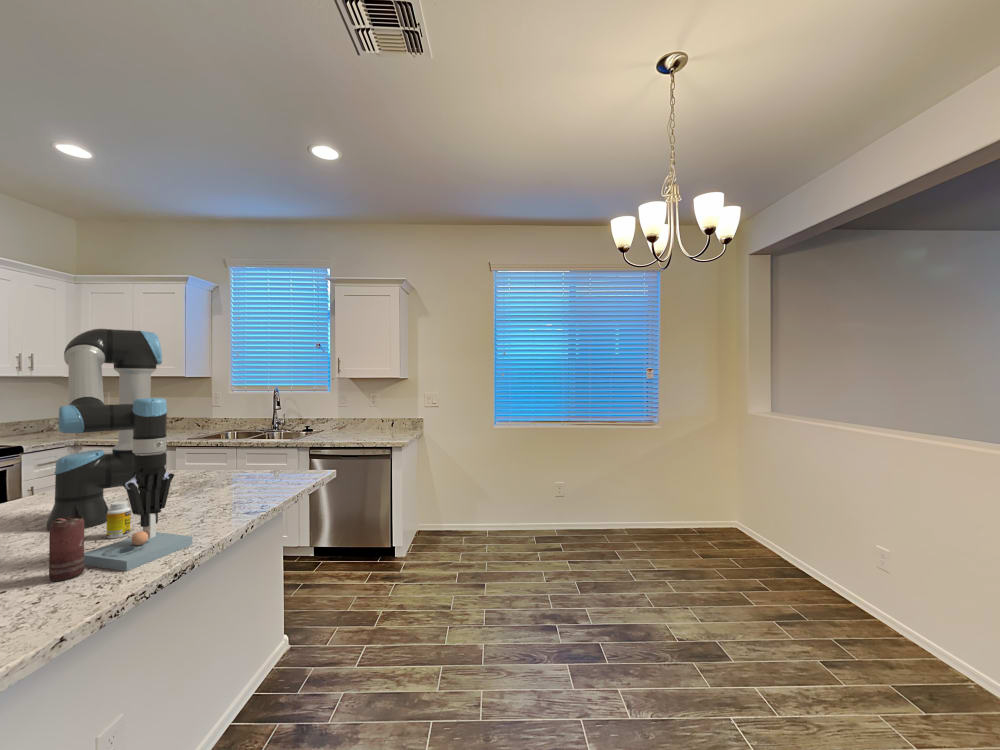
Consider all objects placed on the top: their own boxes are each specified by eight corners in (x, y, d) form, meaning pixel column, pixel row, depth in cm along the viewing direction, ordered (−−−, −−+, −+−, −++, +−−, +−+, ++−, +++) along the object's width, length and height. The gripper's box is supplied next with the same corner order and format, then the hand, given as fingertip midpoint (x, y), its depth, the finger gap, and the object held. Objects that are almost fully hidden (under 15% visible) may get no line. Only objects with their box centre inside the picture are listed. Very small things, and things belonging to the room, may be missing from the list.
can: (63, 571, 111) (63, 515, 111) (90, 570, 112) (91, 514, 112) (40, 582, 105) (40, 523, 105) (69, 581, 105) (69, 522, 106)
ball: (140, 528, 124) (141, 541, 124) (127, 534, 121) (128, 547, 121) (151, 529, 123) (152, 542, 124) (138, 535, 120) (139, 548, 120)
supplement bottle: (127, 537, 134) (127, 503, 134) (103, 540, 132) (104, 505, 132) (132, 531, 139) (133, 499, 139) (110, 534, 137) (110, 501, 137)
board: (79, 564, 115) (79, 554, 115) (149, 539, 133) (149, 531, 133) (126, 571, 111) (126, 561, 111) (192, 544, 129) (192, 536, 129)
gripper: (136, 457, 117) (135, 546, 117) (182, 449, 130) (181, 530, 130) (114, 456, 119) (113, 544, 119) (161, 448, 132) (161, 528, 132)
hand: (149, 536), depth 125 cm, fingers closed
